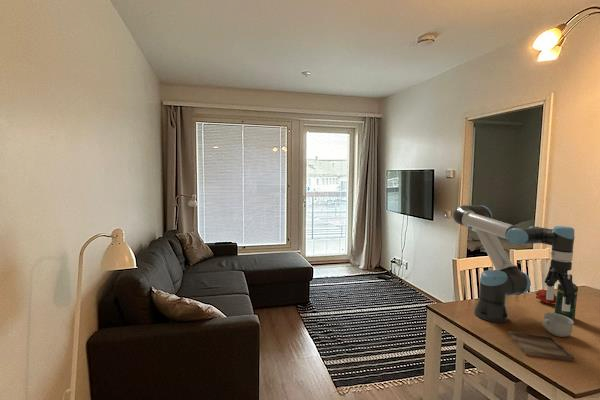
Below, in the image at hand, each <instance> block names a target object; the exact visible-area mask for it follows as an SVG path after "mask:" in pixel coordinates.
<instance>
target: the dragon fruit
mask: <svg viewBox="0 0 600 400" xmlns="http://www.w3.org/2000/svg"><path fill="white" fill-rule="evenodd" d="M546 294H547V289H545V288H541V289H538V290H536V292H535V295H536V296H535V298H536V299H537V300H540V302H541V303H542V304H544V303H545V304H548V305H549V306H555V304H556V297H557V295H556V294H555V293H554V298H553V300H547V299H546Z"/></svg>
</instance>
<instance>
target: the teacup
mask: <svg viewBox="0 0 600 400" xmlns="http://www.w3.org/2000/svg"><path fill="white" fill-rule="evenodd" d="M543 315H544V317H543V320H542V323H541V324H542V326H543V328H544V329H545V330H546V331H547V332H548V333H549V334H551V335H552V336H555V337H559V338H560V337H561V338H564V337H565V338H566V337H569V336H571V334H572V332H573V328H574V324H575V321H574V320H571V319H570V318H568V317H566V316H563V315H560V314H556V313H555V312H545V313H544V314H543Z"/></svg>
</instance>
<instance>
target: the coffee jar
mask: <svg viewBox="0 0 600 400" xmlns="http://www.w3.org/2000/svg"><path fill="white" fill-rule="evenodd" d="M573 287H574V293H575V298H571V305H570V312H567V311H562V302H563V295H564V293H563V289H562V286H561V283H560V282H559V283H558V284H557V287H556V296H557V297H556V303H555V304H554V306H555V307H554V313H556V314H560V315H563V316H566V317H568V318H570V319H571V320H573V321H574V320H575V318H576V308H577V299H578V293H579V290H578V289H579V286H578V285H577V284H575V283H573Z"/></svg>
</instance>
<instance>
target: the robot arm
mask: <svg viewBox="0 0 600 400" xmlns="http://www.w3.org/2000/svg"><path fill="white" fill-rule="evenodd" d="M452 217H453V220H454V222H455V223H456V224H458V225H460V226H463V227H466V228H470V229H471V231H472V232H475V233H476V235H477V237H478V239H479V241H480V242H481V244H482V246H483V248H484V250H485V251H486V252H485V253H486V254H487V256H488V258H489V259H490V261H491V264H492V265H493V267H494V269H487V270H483V271H482V272H481V273H480V277H479V293H478V300H477V303H476V304H475V307H474V309H473V313H474V315H475V316H476V317H478V318H479V319H482V320H485V321H487V322H493V323H499V324H500V323H502V324H503V323H506V322H508V320H509V315H508V314H509V313H508V311H507V307H506V299H507V298H506V297H508V296H510V297H511V296H520V295H524V294H526V293H528V292H529V290H530V289H531V288H530V287H531V286H532V285H531V284H532V283H531V279H530V277H529V275H528V274H527V273H526V272H523V271H521V270H520V269H519V267H518V266H517V265H516V264H513V263H512V261H511V260H510V257H509V256H508V254H507V252H506V251H505V248H504V247H503V245H502V243H501V241H500V239H499V238H502V239H504V240H505V239H506V240H507V241H508V242H509V243H510V244H511V245H519V246H520V245H528V244H531V245H533V244H544V245H548V246H551V252H550V254H551V255H550V256H551V257H550V258H551V259H550V264H549V265H550V266H549V269H548V272H547V275H546V277H545V279H544V284H546V290H547V294H546V299H547V300H553V298H554V294H555V284H556V283H557V282H559V284H560V283H561V286H562V289H563V293H564V295H563V302H562V311H567V312H570V305H571V298H575V293H574V287H573V284H574V282H573V275H572V274H570V273H568V271H571V270H572V267H573V265H572V264H573V263H572V261H573V255H574V242H575V238H576V237H575V229H574V228H573V227H570V226H563V225H555V226H553V228H546V227H539V226H528V227H520V226H517V225H514V224H511V223H508V222H503V221H501V220H497V219H494V218H493V213H492V211H491V210H490V208H489V207H488V206H486V205H480V204H476V205H470V204H469V205H466V204H465V205H460V206H457V207H456V208H455V209H454V210H453V213H452Z"/></svg>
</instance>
